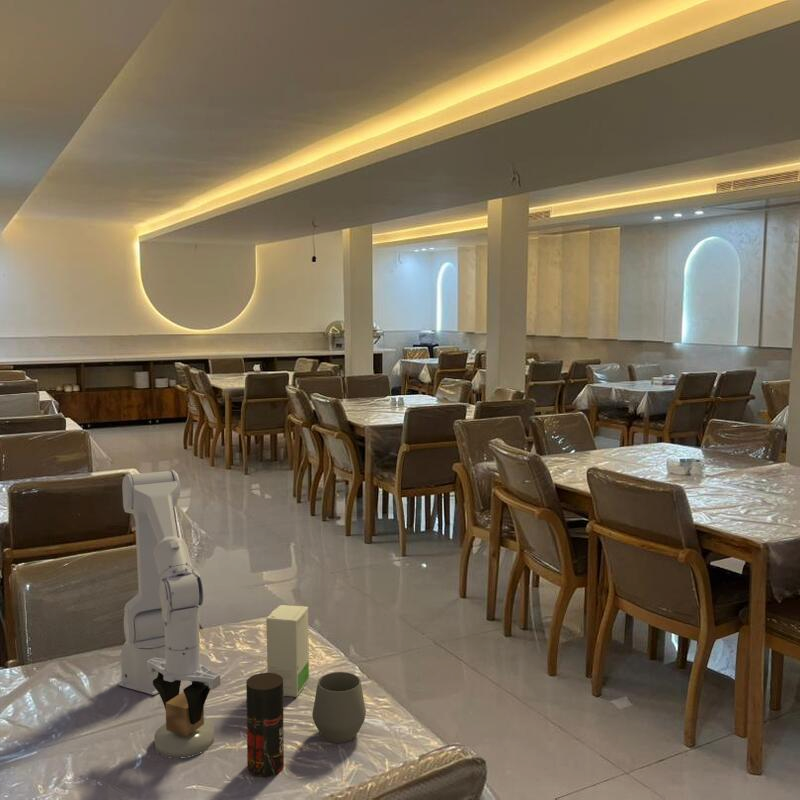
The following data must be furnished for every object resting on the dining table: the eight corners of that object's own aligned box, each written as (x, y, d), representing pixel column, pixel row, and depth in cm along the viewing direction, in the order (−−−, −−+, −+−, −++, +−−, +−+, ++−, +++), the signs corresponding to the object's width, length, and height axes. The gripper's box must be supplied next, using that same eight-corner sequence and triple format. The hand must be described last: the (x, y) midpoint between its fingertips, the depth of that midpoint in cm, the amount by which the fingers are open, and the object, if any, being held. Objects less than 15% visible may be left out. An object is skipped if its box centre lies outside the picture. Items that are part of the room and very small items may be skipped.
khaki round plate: (142, 751, 134) (142, 740, 134) (178, 723, 144) (178, 712, 143) (190, 765, 131) (190, 754, 130) (225, 735, 140) (225, 724, 140)
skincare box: (296, 698, 153) (296, 621, 151) (264, 694, 154) (264, 618, 152) (310, 678, 161) (310, 605, 159) (279, 675, 162) (279, 602, 160)
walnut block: (166, 730, 136) (165, 702, 135) (183, 718, 140) (183, 691, 139) (186, 736, 134) (186, 708, 133) (203, 724, 138) (203, 697, 137)
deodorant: (249, 757, 133) (248, 673, 131) (284, 756, 133) (284, 672, 131) (245, 778, 127) (244, 690, 125) (282, 777, 127) (282, 689, 125)
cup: (324, 754, 134) (324, 699, 132) (304, 728, 142) (304, 675, 141) (374, 741, 138) (374, 687, 137) (352, 716, 146) (353, 665, 145)
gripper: (133, 644, 134) (135, 719, 136) (200, 661, 128) (202, 739, 130) (162, 629, 141) (163, 700, 142) (227, 644, 135) (228, 719, 136)
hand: (184, 718), depth 137 cm, fingers closed on walnut block, 4 cm apart
